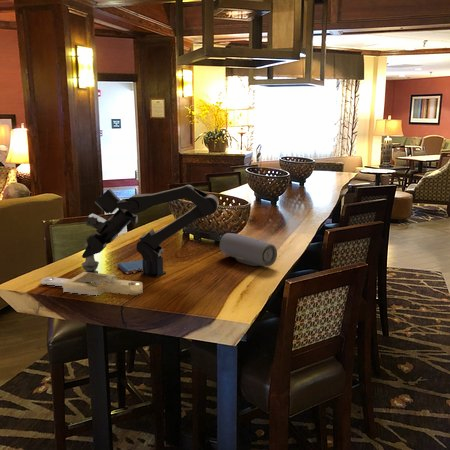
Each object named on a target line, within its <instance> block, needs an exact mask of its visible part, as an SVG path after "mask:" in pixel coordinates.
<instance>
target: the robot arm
mask: <svg viewBox="0 0 450 450" xmlns="http://www.w3.org/2000/svg"><path fill="white" fill-rule="evenodd" d="M182 199H183V200H184V199H187V200H189V201H190V202H191V203H193V204H194V205H195V206H194V207H192V208H191V209H190V210H188V211H186V212H185V213H184V214H182V215H181V216H179V217H178V218H176V219H174V220H173V221H171V222H169V223H168V224H167V225H165V226H164V227H162V228H161V229H159V230H156V231H155V230H154V228H151V229H149V231H148V232H146V233H143V234H142V235H141V236H140V237H139V241H138V242H136V251H137V252H138V253H139V254H140V255H141V258H142V260H143V261H142V262H143V272H140V275H141V276H144V277H148V278H149V277H150V278H158V277H160V276H161V275H164V274H166V273H167V271H166V270H164V260H163V259H164V257H163V256H161V255H162V254H163V252H164V247H162V246H161V244H162V243H164V241H166V240H167V239H168V238H170V237H172V236H173V235H175V234H176V233H179V231H181V230H183V229H184V228H186V227H187V226H189V225H190V224H193V222H195V221H197V220H200V219H203V218H205V217H208V216H210V215H213V214H215V213H216V211H217V210H218V207H219V206H220V205H219V204H220V201H219V199H218V197H217V196H216V195H214V194H210V193H209V194H208V193H206V192H204V191H203V190H201V189H199V188H196V187H194V186H193V185H191V184H186V185H184V186H179V187H176V188H172V189H169V190H167V189H166V190H164V191H163V190H162V191H158V192H155V193H137V194H133V195H131V196H130V197H127V198H126V197H125V198H122V199H121V198H119V197H118V196H117V195H116V194H115V193H114V192H113V190H112V189H111V188H108V189H107V190H106V191H105V192H103V194H101V195H100V196H98V197H97V198H96V199H95V201H94V203H95V204H96V205H97V206H98V207H99V208H100V209H101V210H102V211H103V212H104V213H105V214H106V215H107V214H111V217H110V218H108V219H105V218H103V217H102V216H99V215H97V214H95V213H91V214H89V215H88V216H87V218H86V219H85V225H86V226H88V227H89V226H90V227H92V228H94V229H96V233H92V234H90V235H89V236H88V237H87V238H86V239H85V240H86V243H88V246H87V248H86V250H85V249H84V252H83V253H82V255H81V257H82V259H86V257H89V256H91V255H94V256H95V255H97V254H100V253H101V252H103V250H105V249H106V248H107V245H109V244H111V243H112V242H114V240H115V239H117V237H118V236H119V234H120V233H121V232H122V231H123V230H124V229H125V228H126V226H127V225H129V224H130V223H132V224H134V225H136V224H137V223H138V222H139V220H138V219H139V218H138V215H137V214H139V213H142V212H143V211H146V210H148V209H149V208H152V207H155V206H158V205H162V204H167V203H170V202H173V201H180V200H182ZM116 210H117V211H116ZM113 213H114V214H113ZM112 214H113V215H112Z"/></svg>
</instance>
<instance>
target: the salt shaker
mask: <svg viewBox="0 0 450 450" xmlns="http://www.w3.org/2000/svg"><path fill="white" fill-rule="evenodd" d="M87 246H88V243H87V242H86V243H84V251H85V250H86V248H87ZM84 259H85V260H84V262H82V263H81V266H82V268H83V270H84V272H91V273H98V272H99V271H98V270H97V269H98V266H99V264H100V263H99V261H96V259H95V254H94V255H91V256H89V257H86V258H84Z"/></svg>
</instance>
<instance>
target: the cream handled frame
mask: <svg viewBox="0 0 450 450" xmlns="http://www.w3.org/2000/svg"><path fill="white" fill-rule="evenodd" d="M70 279H71V278H63V277H54V276H46V277H42V278H40V285H41V284H47V285H55V286H62V287H61V288H62V290H63V293H64V292H70V293H69V294H72V293H78V294H77V295H81V294H89V295H88V296H90V295H96V296H95V297H98V296H97V295H99V294H100V295H101V293H102V294H103V293H105V292H104V288H102V289H101V290H99V291H97V292H95V291H86V290H76V289H67V288H63V283H65V282H66V281H68V280H70ZM99 281H101V280H96V279H84V280H83V281H81V282H79V283H86V282H92V283H91V284H94V283H97V282H99ZM86 284H87V283H86ZM55 286H54V287H55ZM100 295H99V296H100Z"/></svg>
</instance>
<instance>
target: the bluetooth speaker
mask: <svg viewBox="0 0 450 450" xmlns="http://www.w3.org/2000/svg"><path fill="white" fill-rule="evenodd" d="M219 249H220V251H221V253H223V254H225V255H227V256H229V257H232V258H234V259H235V260H236V261H237V263H241V264H245V265H248V266H250V267H251V266H252V267H257V266H260V267H271V266H272V265H274V264H275V262H276V261H277V258H278V250H277V248H276V246H275V245H274V244H272V243H270V242H267V241H264V240H261V239H257V238H255V237H251V236H247V235H242V234H239V233H232V232H227V233H224V234H223V235H222V237H221V238H220V241H219Z"/></svg>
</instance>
